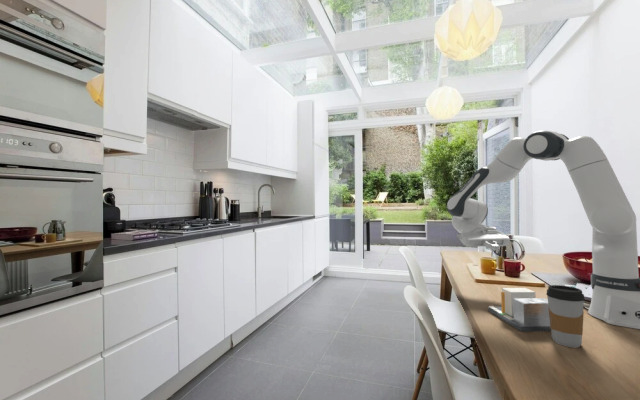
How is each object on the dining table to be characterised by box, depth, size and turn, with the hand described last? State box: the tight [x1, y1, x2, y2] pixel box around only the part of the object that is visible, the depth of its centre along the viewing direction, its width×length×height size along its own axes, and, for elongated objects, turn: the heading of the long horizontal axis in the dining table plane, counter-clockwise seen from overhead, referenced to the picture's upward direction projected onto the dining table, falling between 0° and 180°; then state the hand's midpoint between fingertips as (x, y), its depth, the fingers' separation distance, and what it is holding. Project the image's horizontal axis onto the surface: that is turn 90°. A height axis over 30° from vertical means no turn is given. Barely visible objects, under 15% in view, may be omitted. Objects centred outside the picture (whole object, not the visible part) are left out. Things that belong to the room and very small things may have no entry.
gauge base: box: [487, 297, 551, 333], centre depth 100 cm, size 18×12×8 cm, turn 179°
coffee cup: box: [546, 284, 586, 348], centre depth 83 cm, size 8×8×15 cm
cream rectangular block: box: [500, 287, 536, 317], centre depth 101 cm, size 6×10×8 cm, turn 89°
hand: (496, 248), depth 123 cm, fingers closed
